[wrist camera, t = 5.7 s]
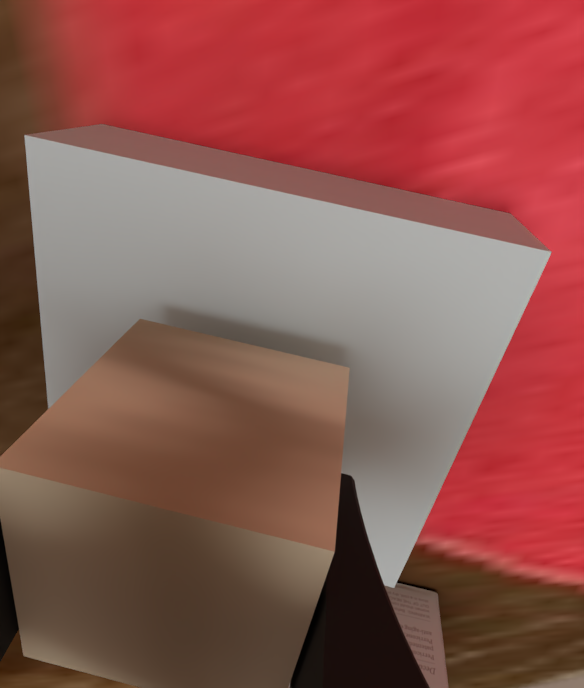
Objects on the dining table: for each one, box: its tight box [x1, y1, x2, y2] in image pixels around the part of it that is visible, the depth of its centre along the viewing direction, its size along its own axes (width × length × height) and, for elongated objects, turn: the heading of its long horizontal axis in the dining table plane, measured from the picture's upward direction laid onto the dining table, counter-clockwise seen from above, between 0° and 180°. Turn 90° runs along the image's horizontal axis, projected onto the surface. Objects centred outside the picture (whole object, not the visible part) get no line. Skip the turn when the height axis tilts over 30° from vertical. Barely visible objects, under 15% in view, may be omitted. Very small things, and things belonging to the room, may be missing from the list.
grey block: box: [24, 124, 552, 588], centre depth 15 cm, size 12×12×4 cm
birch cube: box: [0, 319, 350, 688], centre depth 10 cm, size 5×5×5 cm
